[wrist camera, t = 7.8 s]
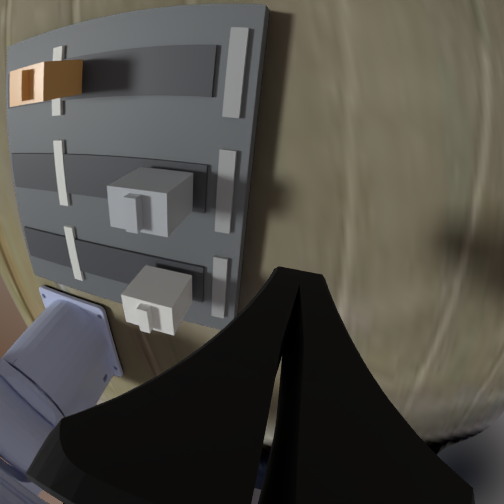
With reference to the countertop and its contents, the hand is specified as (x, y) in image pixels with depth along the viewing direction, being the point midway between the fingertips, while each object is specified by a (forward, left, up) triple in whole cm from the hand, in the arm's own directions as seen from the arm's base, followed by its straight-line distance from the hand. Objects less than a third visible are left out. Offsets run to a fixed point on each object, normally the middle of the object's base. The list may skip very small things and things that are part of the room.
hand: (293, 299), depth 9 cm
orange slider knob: (+6, +14, -7) cm, 17 cm away
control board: (0, +12, -9) cm, 15 cm away
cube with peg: (0, +7, -7) cm, 10 cm away
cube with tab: (-6, +7, -7) cm, 12 cm away
